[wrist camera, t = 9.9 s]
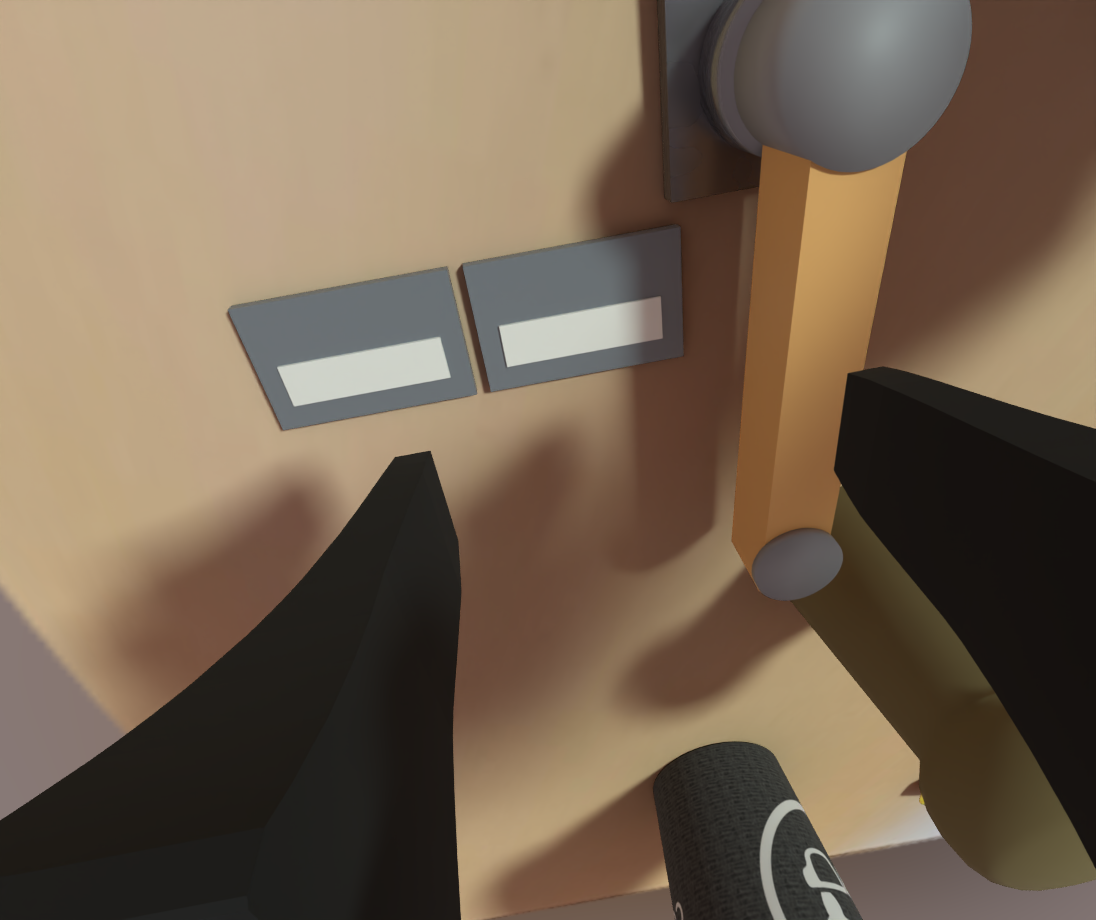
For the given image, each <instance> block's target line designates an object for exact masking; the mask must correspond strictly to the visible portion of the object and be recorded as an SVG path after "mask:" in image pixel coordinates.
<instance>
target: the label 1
mask: <svg viewBox="0 0 1096 920" xmlns="http://www.w3.org/2000/svg"><path fill="white" fill-rule="evenodd" d="M228 312H229V314H230V316H231V318H232V321H233V323H234V325H235V327H236V329H237V331H238V334H239V336H240V338H241V340H242V342H243V344H244V347H245V349H246V351H247V353H248V355H249V357H250V360H251V362H252V364H253V366H254V368H255V370H256V372H257V375H258V377H259V379H260V381H261V383H262V385H263V388H264V390H265V392H266V394H267V396H268V398H269V401H270V403H271V405H272V407H273V409H274V411H275V414H276V416H277V418H278V420H279V422H280V424H281V427H282V429H283V430H287V429H293V428H298V427H304V426H309V425H314V424H320V423H325V422H331V421H336V420H341V419H347V418H352V417H358V416H363V415H368V414H374V413H379V412H385V411H390V410H395V409H401V408H406V407H412V406H417V405H422V404H428V403H433V402H439V401H444V400H449V399H455V398H460V397H466V396H471V395H476V394H477V388H476V383H475V379H474V375H473V371H472V367H471V363H470V358H469V354H468V350H467V346H466V342H465V338H464V334H463V329H462V325H461V321H460V317H459V313H458V309H457V304H456V300H455V296H454V292H453V288H452V284H451V279H450V275H449V271H448V267H447V266H446V267H441V268H435V269H430V270H424V271H419V272H413V273H408V274H402V275H397V276H391V277H386V278H381V279H375V280H370V281H364V282H359V283H353V284H348V285H342V286H337V287H331V288H326V289H320V290H315V291H310V292H304V293H299V294H293V295H288V296H282V297H277V298H271V299H266V300H260V301H255V302H249V303H244V304H239V305H233V306H231V307H230V308H229V309H228Z"/></svg>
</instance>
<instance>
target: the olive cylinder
mask: <svg viewBox="0 0 1096 920" xmlns="http://www.w3.org/2000/svg"><path fill="white" fill-rule="evenodd" d="M831 536H832V537H833V538H834V539H835V540H836V542H837V543H838V544H839V546H840V547H841V549H842V553H843V562H842V565H841V568H840V570H839V572H838V573H837V575H836V576H835V577H834V579H833V580H832V581H831V582H830V583H829V584H827V585H826V586H825V587H824V588H822V589H821V590H819V591H817V592H816V593H813V594H811V595H809V596H806V597H804V598H800V599H796V600H790V601H791V602H792V603H793V604H794V606H795V607H796V608H797V609H798V611H799V612H800V613H801V614H802V616H803V617H804V618H805V619H806V620H807V622H808V623H809V624H810V625H811V627H812V628H813V629H814V630H815V632H816V633H817V634H818V635H819V636H820V638H821V639H822V640H823V641H824V643H825V644H826V645H827V646H828V648H829V649H830V650H831V651H832V652H833V654H834V655H835V656H836V657H837V659H838V660H839V661H840V662H841V664H842V665H843V666H844V667H845V668H846V670H847V671H848V672H849V673H850V675H851V676H852V677H853V678H854V680H855V681H856V682H857V683H858V685H859V686H860V687H861V688H862V689H863V691H864V692H865V693H866V694H867V696H868V697H869V698H870V699H871V701H872V702H873V703H874V704H875V705H876V707H877V708H878V709H879V710H880V712H881V713H882V714H883V715H884V717H885V718H886V719H887V720H888V721H889V723H890V724H891V725H892V726H893V728H894V729H895V730H896V731H897V733H898V734H899V735H900V736H901V737H902V739H903V740H904V741H905V742H906V744H907V745H908V746H909V747H910V749H911V750H912V751H913V752H914V753H915V755H916V756H917V757H918V758H919V760H920V774H919V788H920V791H921V794H922V797H923V800H924V803H925V806H926V809H927V812H928V814H929V815H930V817H931V819H932V820H933V822H934V824H935V825H936V827H937V829H938V831H939V832H940V834H941V836H942V837H943V838H944V839H945V840H946V841H947V843H948V844H949V845H950V846H951V847H952V848H953V850H954V851H955V852H956V853H957V854H958V855H959V856H960V857H961V858H962V860H963V861H964V862H965V863H966V864H967V865H968V866H969V867H970V868H972V869H973V870H975V871H976V872H978V873H979V874H980V875H982V876H983V877H985V878H986V879H988V880H989V881H991V882H993V883H996V884H999V885H1002V886H1006V887H1010V888H1014V889H1019V890H1036V891H1037V890H1038V891H1041V890H1048V889H1055V888H1062V887H1067V886H1072V885H1077V884H1081V883H1085V882H1088V881H1092V880H1095V879H1096V869H1095V867H1094V865H1093V863H1092V861H1091V859H1090V857H1089V855H1088V853H1087V852H1086V850H1085V848H1084V846H1083V844H1082V842H1081V840H1080V838H1079V836H1078V834H1077V832H1076V830H1075V828H1074V827H1073V825H1072V823H1071V821H1070V819H1069V817H1068V816H1067V814H1066V812H1065V810H1064V809H1063V807H1062V805H1061V803H1060V801H1059V800H1058V798H1057V796H1056V794H1055V793H1054V791H1053V789H1052V787H1051V786H1050V784H1049V782H1048V780H1047V779H1046V777H1045V775H1044V773H1043V772H1042V770H1041V768H1040V766H1039V764H1038V763H1037V761H1036V759H1035V757H1034V756H1033V754H1032V752H1031V750H1030V749H1029V747H1028V745H1027V744H1026V742H1025V741H1024V739H1023V737H1022V736H1021V734H1020V732H1019V731H1018V729H1017V728H1016V726H1015V724H1014V723H1013V721H1012V719H1011V718H1010V716H1009V715H1008V713H1007V711H1006V710H1005V708H1004V706H1003V705H1002V703H1001V702H1000V700H999V698H998V697H997V695H996V693H995V692H994V690H993V689H992V687H991V686H990V684H989V683H988V681H987V680H986V678H985V677H984V675H983V674H982V672H981V671H980V669H979V668H978V666H977V665H976V663H975V661H974V660H973V658H972V657H971V655H970V654H969V652H968V651H967V649H966V648H965V646H964V645H963V643H962V642H961V640H960V639H959V638H958V636H957V635H956V634H955V632H954V631H953V630H952V628H951V627H950V626H949V624H948V623H947V622H946V620H945V619H944V618H943V616H942V615H941V614H940V613H939V611H938V610H937V609H936V608H935V607H934V605H933V604H932V603H931V602H930V601H929V599H928V598H927V597H926V596H925V595H924V593H923V592H922V591H921V590H920V588H919V587H918V586H917V585H916V584H915V582H914V581H913V580H912V579H911V578H910V576H909V575H908V574H907V573H906V572H905V570H904V569H903V568H902V567H901V565H900V564H899V563H898V562H897V561H896V559H895V558H894V557H893V556H892V555H891V553H890V552H889V551H888V550H887V548H886V547H885V546H884V545H883V544H882V542H881V541H880V540H879V539H878V537H877V536H876V535H875V534H874V532H873V531H872V530H871V529H870V527H869V526H868V525H867V524H866V522H865V521H864V520H863V518H862V517H861V516H860V514H859V513H858V511H857V510H856V508H855V506H854V505H853V503H852V501H851V500H850V498H849V497H848V495H847V493H846V491H845V490H844V488H843V486H842V487H840V490H839V495H838V500H837V505H836V510H835V515H834V520H833V525H832V530H831Z"/></svg>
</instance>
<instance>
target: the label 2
mask: <svg viewBox="0 0 1096 920" xmlns="http://www.w3.org/2000/svg"><path fill="white" fill-rule="evenodd" d="M463 271H464V275H465V279H466V284H467V288H468V293H469V297H470V302H471V306H472V310H473V315H474V319H475V324H476V328H477V332H478V337H479V341H480V346H481V350H482V355H483V359H484V363H485V368H486V372H487V377H488V381H489V385H490V390H491V392H493V391H498V390H503V389H509V388H514V387H520V386H525V385H530V384H536V383H541V382H547V381H552V380H557V379H563V378H568V377H574V376H579V375H584V374H590V373H595V372H601V371H606V370H611V369H617V368H622V367H627V366H633V365H638V364H644V363H649V362H654V361H660V360H665V359H671V358H676V357H681V356H684V353H683V312H682V270H681V229H680V226H679V225H677V224H676V225H670V226H665V227H659V228H654V229H648V230H643V231H637V232H632V233H626V234H621V235H615V236H610V237H604V238H599V239H594V240H588V241H583V242H577V243H572V244H566V245H561V246H555V247H550V248H544V249H539V250H533V251H528V252H523V253H517V254H512V255H506V256H501V257H495V258H490V259H484V260H479V261H473V262H468V263H463Z"/></svg>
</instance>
